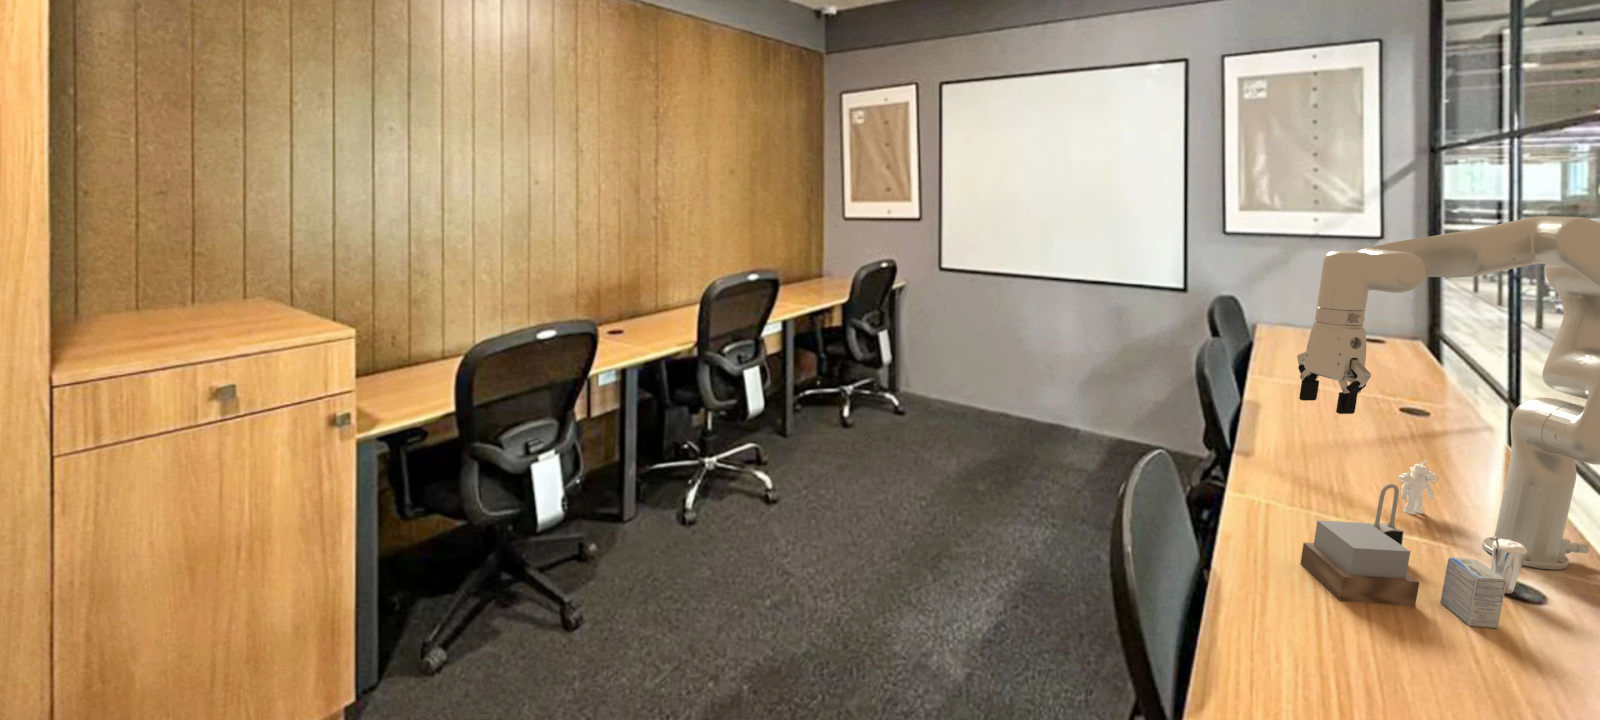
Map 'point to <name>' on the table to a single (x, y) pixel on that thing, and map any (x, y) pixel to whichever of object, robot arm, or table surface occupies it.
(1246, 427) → the table surface
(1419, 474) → the blocky character figurine
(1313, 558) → the lower block
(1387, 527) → the padlock
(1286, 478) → the table surface
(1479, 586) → the medicine box
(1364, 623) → the table surface
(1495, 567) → the milkshake
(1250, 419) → the table surface
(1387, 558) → the upper block
